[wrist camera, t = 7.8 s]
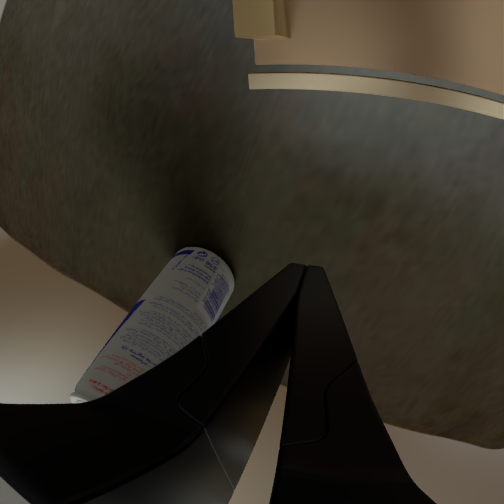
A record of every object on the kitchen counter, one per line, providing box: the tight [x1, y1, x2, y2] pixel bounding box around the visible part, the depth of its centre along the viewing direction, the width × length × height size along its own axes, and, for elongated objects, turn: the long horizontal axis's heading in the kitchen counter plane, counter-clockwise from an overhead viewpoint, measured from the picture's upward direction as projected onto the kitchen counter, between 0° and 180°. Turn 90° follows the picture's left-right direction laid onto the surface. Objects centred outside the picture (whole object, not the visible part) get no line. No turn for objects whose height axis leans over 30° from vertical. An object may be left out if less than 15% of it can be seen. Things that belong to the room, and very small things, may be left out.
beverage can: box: [70, 247, 234, 403], centre depth 21 cm, size 6×6×15 cm
